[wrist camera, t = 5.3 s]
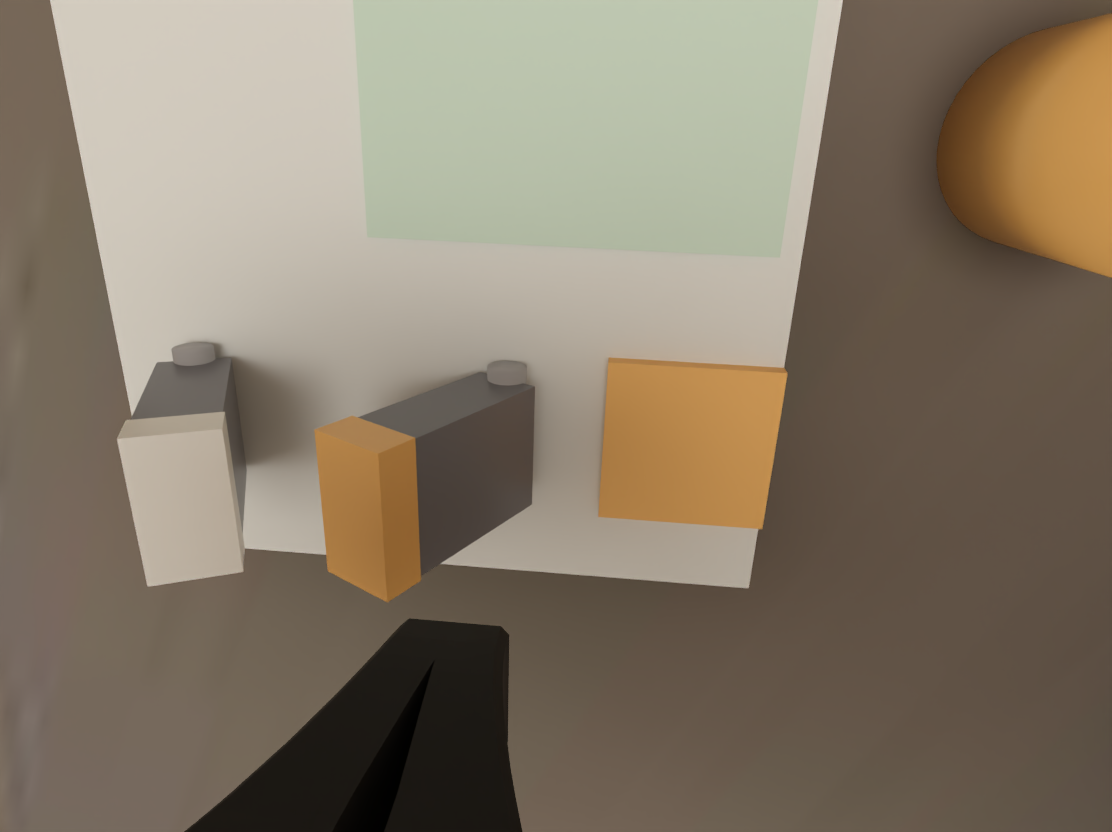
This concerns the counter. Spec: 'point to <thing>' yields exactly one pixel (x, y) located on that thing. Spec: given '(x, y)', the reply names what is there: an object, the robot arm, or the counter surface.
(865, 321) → the counter surface
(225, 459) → the breaker
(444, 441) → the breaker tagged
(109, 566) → the counter surface
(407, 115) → the panel
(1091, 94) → the cap
